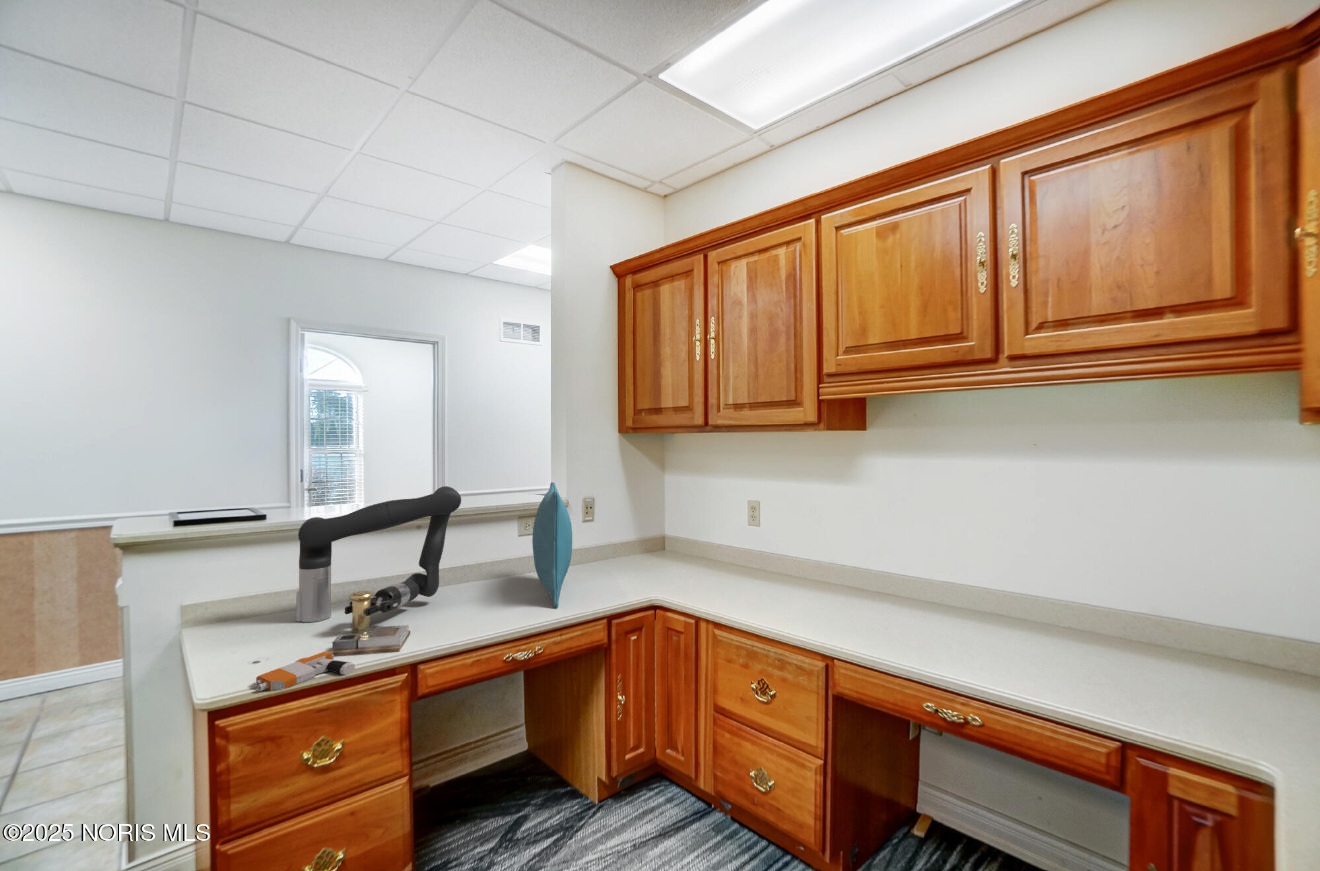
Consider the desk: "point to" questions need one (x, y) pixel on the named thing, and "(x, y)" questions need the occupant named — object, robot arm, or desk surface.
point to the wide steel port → (383, 637)
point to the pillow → (552, 542)
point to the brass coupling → (360, 611)
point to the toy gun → (302, 671)
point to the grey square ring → (346, 642)
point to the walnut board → (369, 650)
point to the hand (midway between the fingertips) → (356, 611)
